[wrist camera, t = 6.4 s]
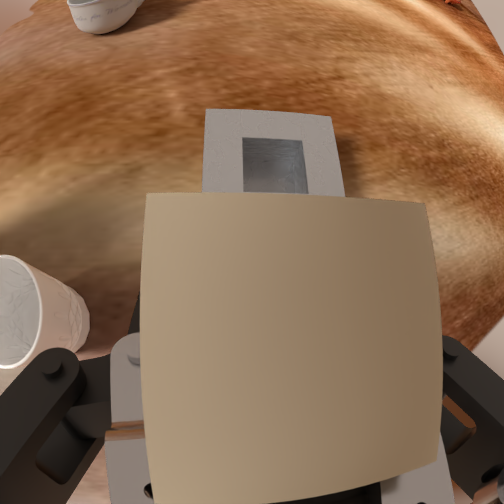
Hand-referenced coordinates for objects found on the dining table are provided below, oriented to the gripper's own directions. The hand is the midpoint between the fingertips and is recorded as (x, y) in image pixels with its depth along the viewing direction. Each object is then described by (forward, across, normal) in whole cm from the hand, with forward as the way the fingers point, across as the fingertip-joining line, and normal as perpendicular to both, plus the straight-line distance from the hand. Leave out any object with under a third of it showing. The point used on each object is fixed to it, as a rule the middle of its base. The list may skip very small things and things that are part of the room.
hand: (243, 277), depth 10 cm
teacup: (+44, +18, -18) cm, 51 cm away
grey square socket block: (+21, -4, +4) cm, 22 cm away
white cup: (+12, +16, +14) cm, 24 cm away
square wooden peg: (+2, 0, +5) cm, 5 cm away
